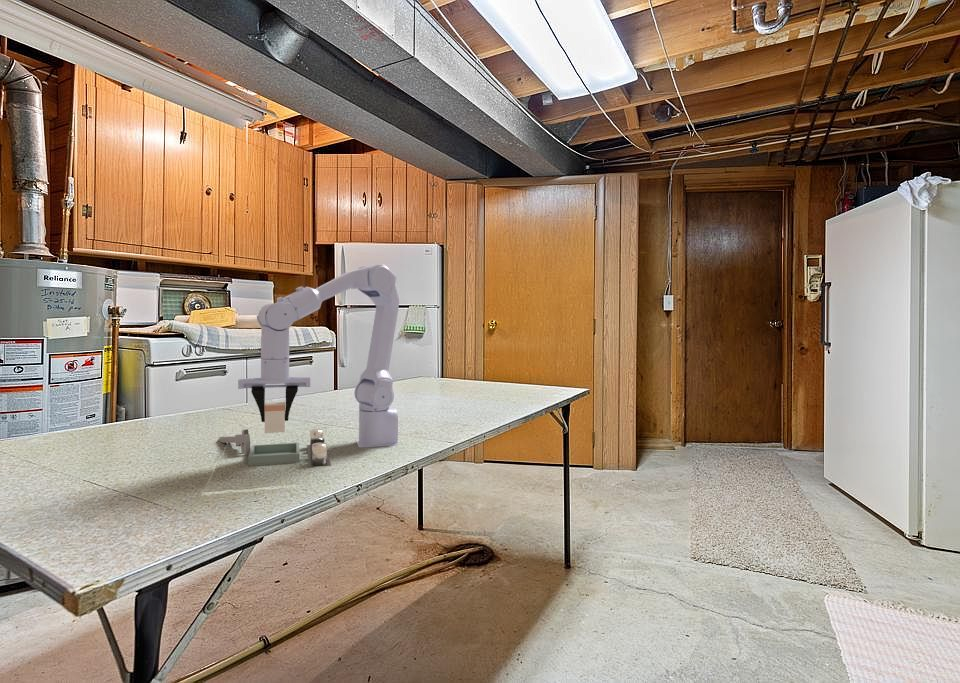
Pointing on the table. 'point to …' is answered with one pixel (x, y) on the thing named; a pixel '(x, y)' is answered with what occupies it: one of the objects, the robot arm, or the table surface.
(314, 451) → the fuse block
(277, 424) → the beige and orange block
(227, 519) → the table surface
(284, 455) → the tray
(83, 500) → the table surface
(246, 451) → the caliper
